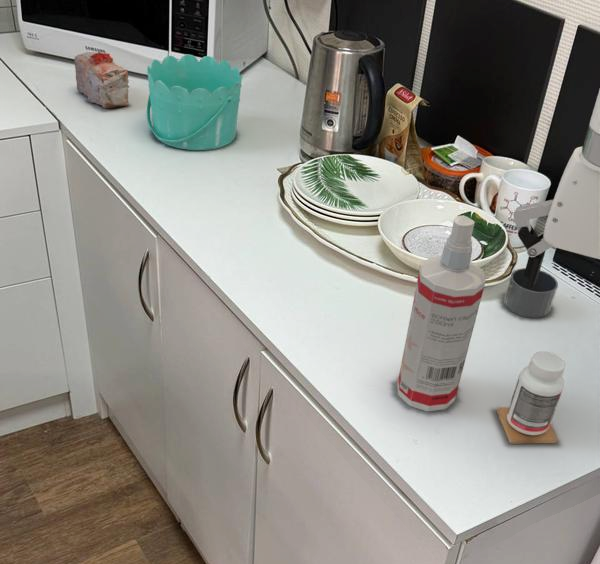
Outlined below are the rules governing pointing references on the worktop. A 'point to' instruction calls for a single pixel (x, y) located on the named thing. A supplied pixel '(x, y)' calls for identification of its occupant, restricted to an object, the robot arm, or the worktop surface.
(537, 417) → the pill bottle
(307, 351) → the worktop surface
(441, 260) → the spray bottle
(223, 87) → the basket
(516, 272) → the tin
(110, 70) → the food item
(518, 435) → the brown wooden square tile
